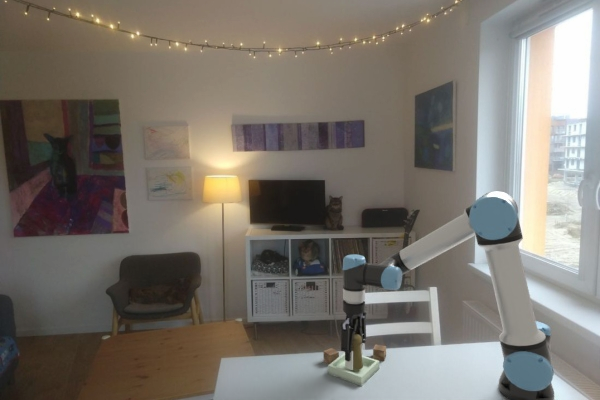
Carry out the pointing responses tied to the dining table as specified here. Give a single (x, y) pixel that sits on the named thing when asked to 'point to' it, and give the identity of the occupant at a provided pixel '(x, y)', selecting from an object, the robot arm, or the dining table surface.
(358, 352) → the olive tall rounded piece
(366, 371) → the tray
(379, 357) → the walnut cube
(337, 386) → the dining table surface
